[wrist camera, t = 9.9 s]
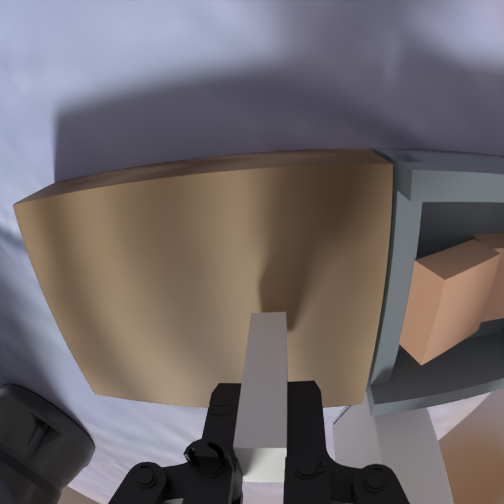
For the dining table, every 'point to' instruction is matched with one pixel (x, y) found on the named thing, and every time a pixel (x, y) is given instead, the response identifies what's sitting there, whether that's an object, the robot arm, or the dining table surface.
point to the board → (216, 269)
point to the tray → (424, 244)
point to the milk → (395, 449)
